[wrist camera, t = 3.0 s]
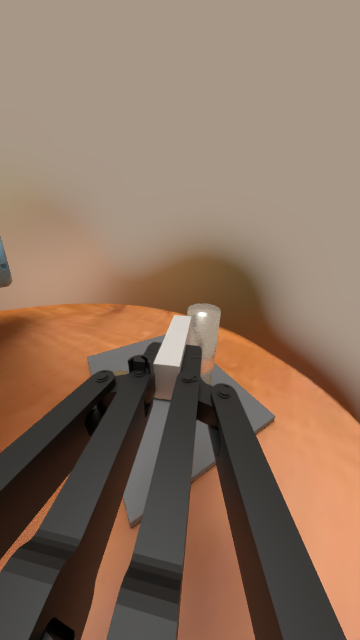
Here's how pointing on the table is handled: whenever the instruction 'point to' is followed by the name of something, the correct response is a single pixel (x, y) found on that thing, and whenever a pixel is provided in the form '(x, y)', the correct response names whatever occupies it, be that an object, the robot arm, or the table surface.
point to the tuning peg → (202, 337)
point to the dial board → (156, 422)
